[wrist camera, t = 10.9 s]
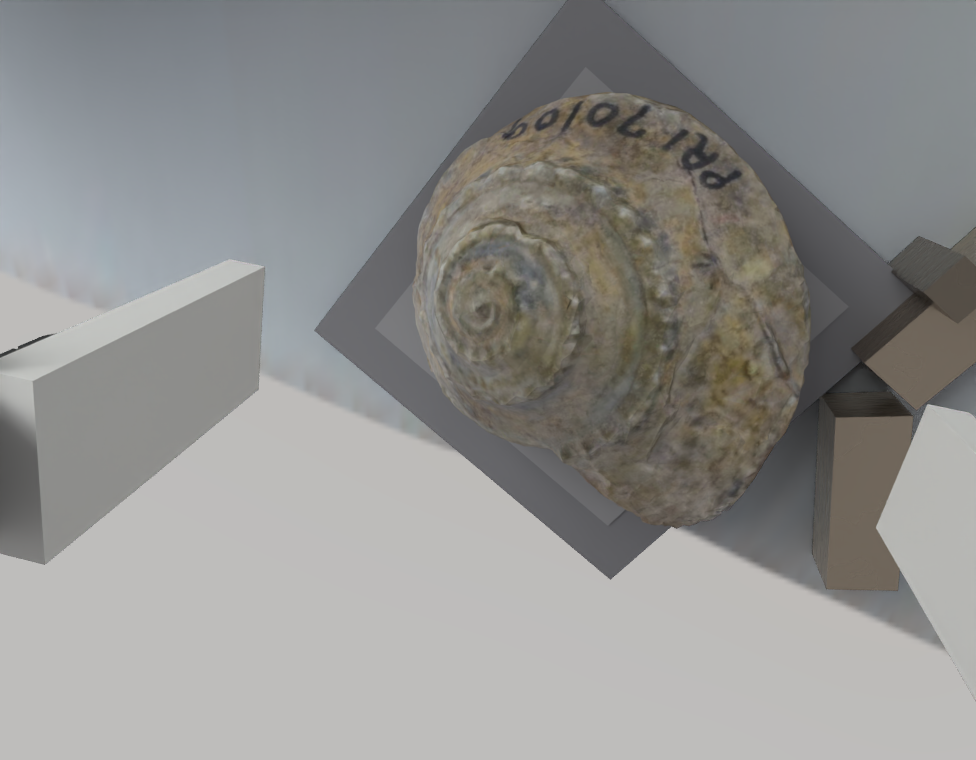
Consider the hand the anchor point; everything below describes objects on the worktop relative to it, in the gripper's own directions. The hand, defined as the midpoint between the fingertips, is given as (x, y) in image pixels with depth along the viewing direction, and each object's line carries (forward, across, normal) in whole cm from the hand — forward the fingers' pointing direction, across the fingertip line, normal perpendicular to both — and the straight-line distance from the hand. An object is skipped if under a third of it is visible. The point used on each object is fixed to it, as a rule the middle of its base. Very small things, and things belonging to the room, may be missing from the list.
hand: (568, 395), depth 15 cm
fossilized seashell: (+8, +1, 0) cm, 9 cm away
